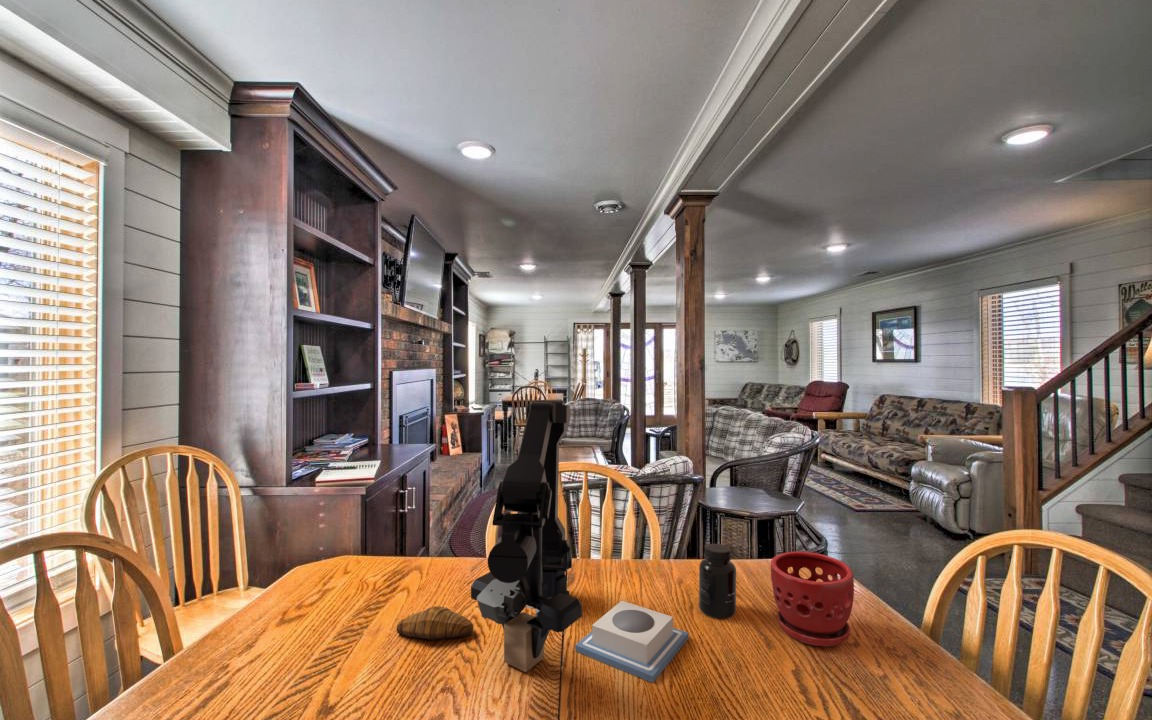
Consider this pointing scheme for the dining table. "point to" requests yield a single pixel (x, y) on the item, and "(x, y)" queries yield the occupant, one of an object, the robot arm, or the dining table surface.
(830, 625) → the plant pot
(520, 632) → the walnut block
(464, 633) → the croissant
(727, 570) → the supplement bottle
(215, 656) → the dining table surface
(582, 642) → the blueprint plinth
